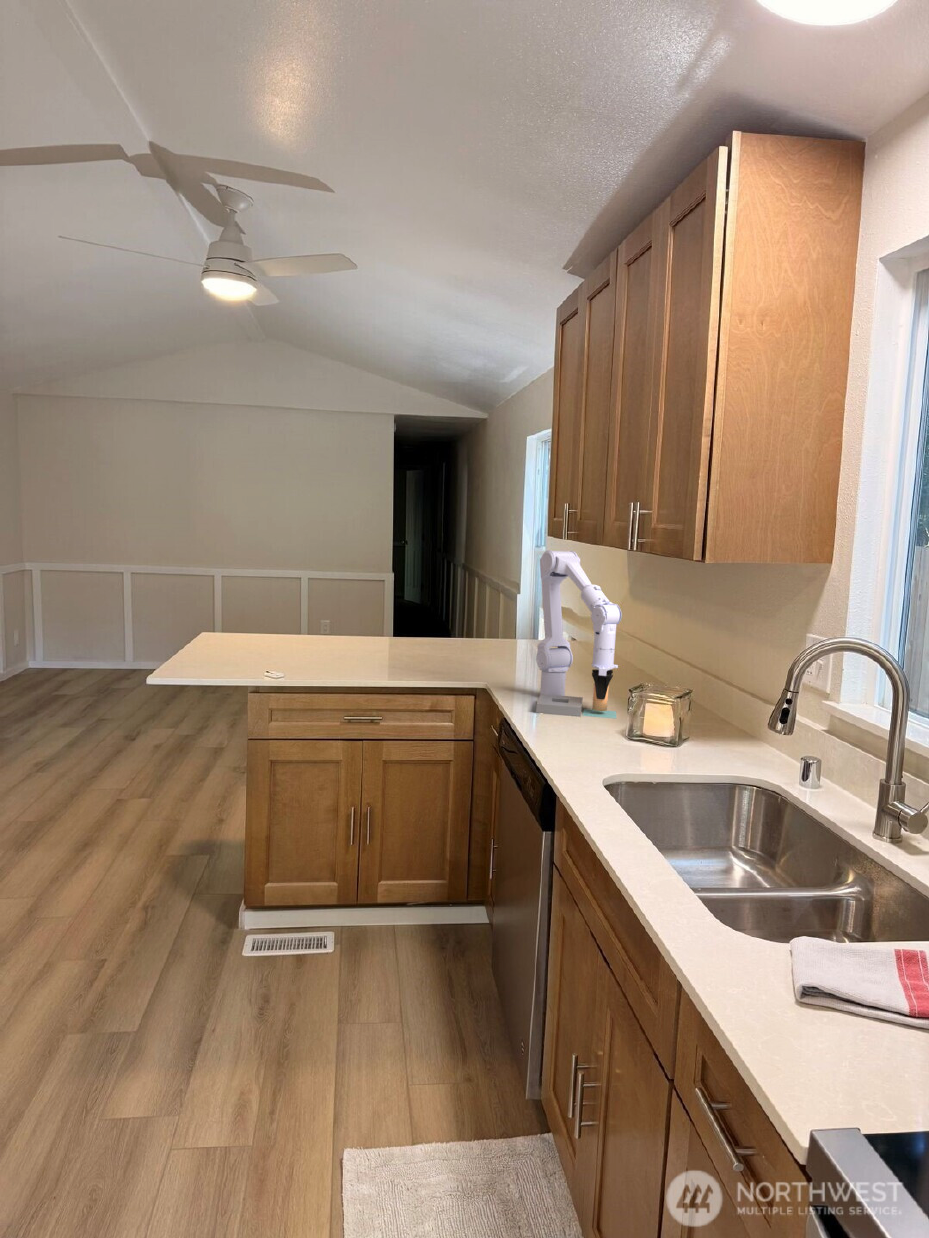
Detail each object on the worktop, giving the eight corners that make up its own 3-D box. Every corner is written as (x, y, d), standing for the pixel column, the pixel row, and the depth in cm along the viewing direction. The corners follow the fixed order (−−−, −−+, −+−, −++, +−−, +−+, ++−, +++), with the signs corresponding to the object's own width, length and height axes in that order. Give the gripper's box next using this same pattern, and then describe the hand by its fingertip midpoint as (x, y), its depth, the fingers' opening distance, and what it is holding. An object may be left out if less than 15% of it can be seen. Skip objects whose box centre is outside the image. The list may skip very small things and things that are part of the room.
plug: (592, 707, 235) (594, 682, 234) (606, 708, 235) (608, 683, 234) (592, 710, 231) (593, 685, 231) (606, 711, 231) (608, 686, 230)
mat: (583, 710, 238) (583, 708, 238) (615, 713, 237) (616, 711, 237) (582, 717, 229) (582, 715, 229) (616, 720, 228) (616, 718, 228)
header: (539, 704, 244) (540, 693, 243) (581, 707, 242) (582, 697, 241) (535, 714, 230) (536, 703, 230) (580, 718, 228) (581, 707, 228)
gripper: (619, 653, 223) (615, 703, 225) (618, 645, 237) (615, 693, 239) (592, 651, 224) (589, 701, 226) (593, 643, 239) (589, 691, 240)
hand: (600, 697), depth 233 cm, fingers closed on plug, 4 cm apart
